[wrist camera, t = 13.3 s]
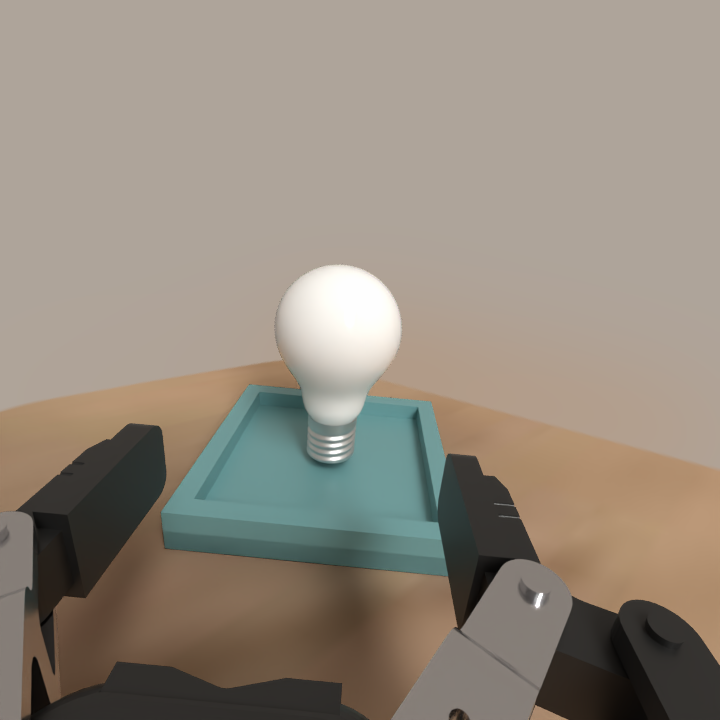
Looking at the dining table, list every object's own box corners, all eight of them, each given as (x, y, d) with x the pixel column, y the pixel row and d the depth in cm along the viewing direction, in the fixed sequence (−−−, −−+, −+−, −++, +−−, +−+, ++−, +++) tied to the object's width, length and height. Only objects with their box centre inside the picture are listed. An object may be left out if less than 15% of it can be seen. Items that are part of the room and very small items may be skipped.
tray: (164, 548, 19) (160, 512, 18) (249, 409, 31) (249, 384, 30) (458, 577, 18) (466, 542, 18) (426, 426, 31) (431, 401, 30)
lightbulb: (249, 457, 24) (247, 258, 20) (328, 419, 28) (339, 252, 24) (331, 514, 20) (348, 284, 16) (406, 460, 25) (434, 272, 21)
